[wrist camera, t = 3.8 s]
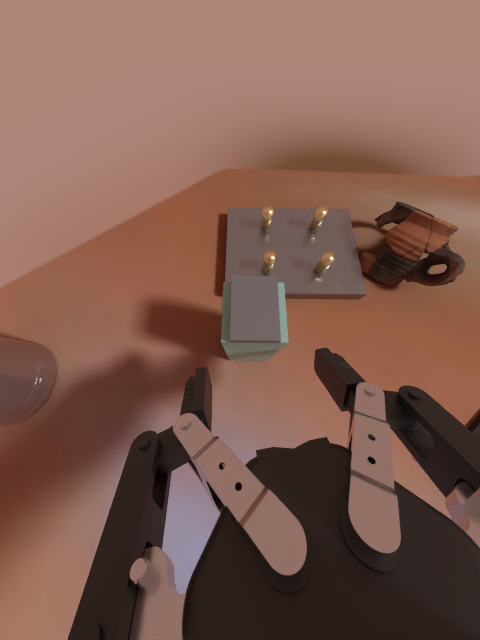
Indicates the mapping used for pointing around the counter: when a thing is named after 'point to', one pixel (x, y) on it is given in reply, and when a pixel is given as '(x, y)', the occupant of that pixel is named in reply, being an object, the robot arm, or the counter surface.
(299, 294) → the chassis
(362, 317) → the counter surface
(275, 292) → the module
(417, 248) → the pottery mug
